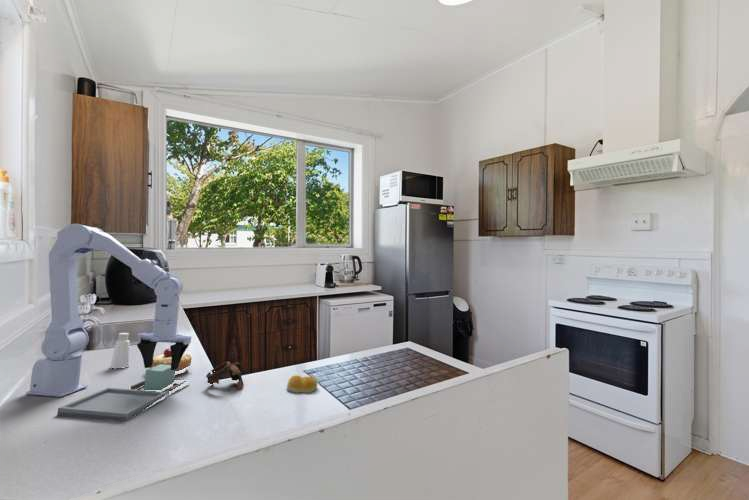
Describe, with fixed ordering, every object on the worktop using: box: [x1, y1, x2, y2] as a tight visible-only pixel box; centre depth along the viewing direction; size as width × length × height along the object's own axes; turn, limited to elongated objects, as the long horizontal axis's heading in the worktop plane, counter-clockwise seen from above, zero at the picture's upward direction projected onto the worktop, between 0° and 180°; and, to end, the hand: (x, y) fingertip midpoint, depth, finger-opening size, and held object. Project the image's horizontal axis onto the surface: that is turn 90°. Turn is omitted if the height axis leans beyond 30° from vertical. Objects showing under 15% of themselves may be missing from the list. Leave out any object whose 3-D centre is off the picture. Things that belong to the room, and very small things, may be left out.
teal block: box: [143, 364, 175, 390], centre depth 98 cm, size 4×6×6 cm
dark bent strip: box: [130, 377, 186, 392], centre depth 99 cm, size 11×9×2 cm
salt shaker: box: [109, 332, 131, 370], centre depth 115 cm, size 5×5×11 cm
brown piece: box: [205, 361, 244, 391], centre depth 104 cm, size 12×10×8 cm
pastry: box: [148, 348, 192, 371], centre depth 113 cm, size 12×12×9 cm
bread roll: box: [286, 374, 318, 394], centre depth 106 cm, size 8×9×4 cm
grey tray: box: [57, 386, 168, 422], centre depth 85 cm, size 16×14×2 cm
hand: (161, 368), depth 98 cm, fingers open, 7 cm apart
